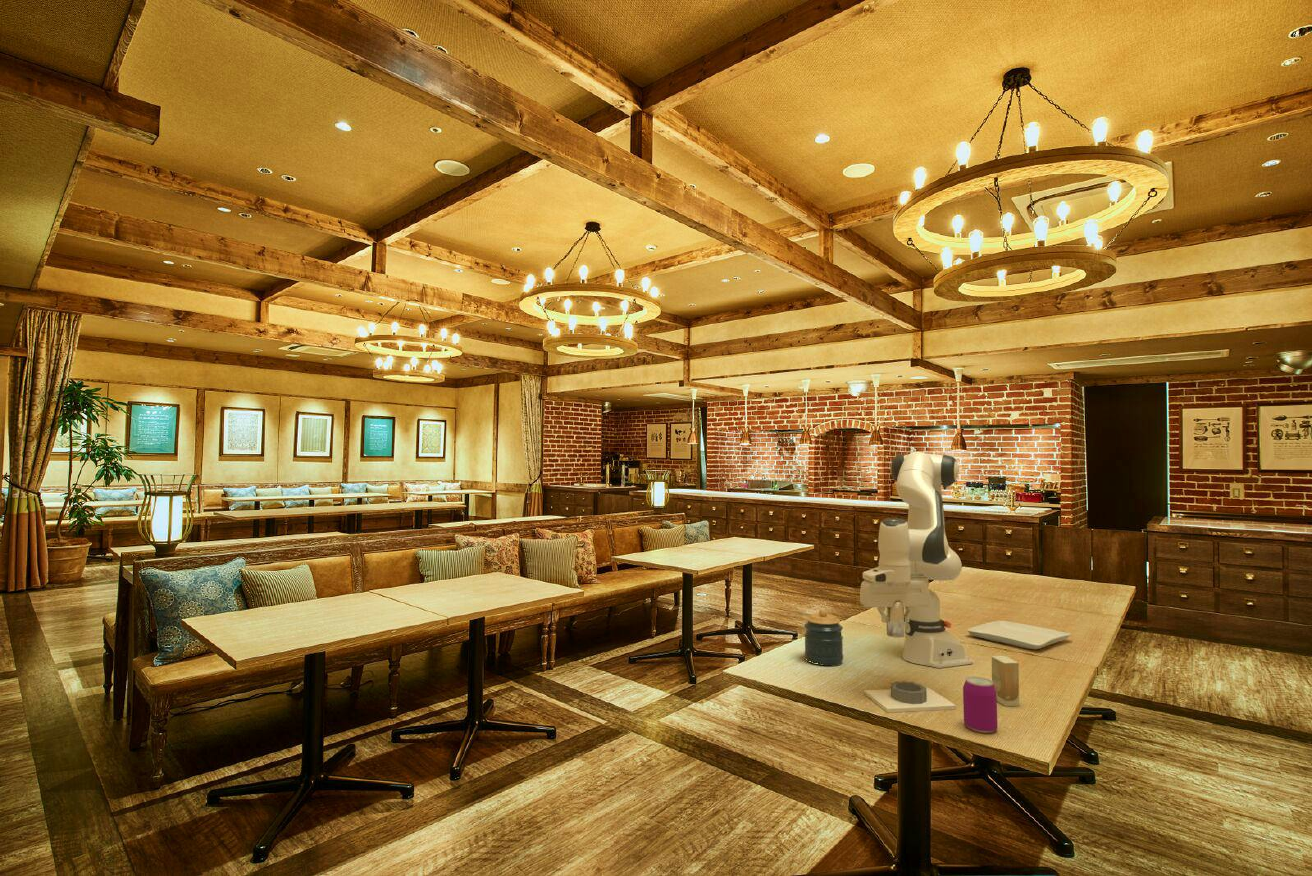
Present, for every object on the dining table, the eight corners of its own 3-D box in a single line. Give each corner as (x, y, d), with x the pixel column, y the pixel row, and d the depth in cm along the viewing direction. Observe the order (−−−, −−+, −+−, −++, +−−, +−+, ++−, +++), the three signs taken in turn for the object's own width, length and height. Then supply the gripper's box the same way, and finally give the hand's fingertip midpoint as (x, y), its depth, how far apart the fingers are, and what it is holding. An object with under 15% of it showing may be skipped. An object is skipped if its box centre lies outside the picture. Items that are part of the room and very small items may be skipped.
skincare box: (991, 698, 176) (990, 655, 177) (1005, 697, 177) (1004, 655, 177) (1005, 707, 170) (1004, 662, 170) (1020, 706, 170) (1019, 662, 171)
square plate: (1072, 642, 233) (1072, 632, 233) (1039, 655, 217) (1039, 644, 218) (1000, 627, 255) (999, 618, 255) (964, 638, 240) (964, 628, 240)
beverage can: (993, 737, 151) (992, 688, 151) (960, 728, 156) (958, 681, 157) (1001, 727, 157) (999, 680, 157) (968, 719, 162) (967, 673, 162)
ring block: (927, 690, 182) (927, 677, 182) (956, 709, 168) (955, 694, 169) (864, 693, 180) (864, 680, 180) (887, 712, 166) (887, 697, 166)
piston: (899, 633, 181) (898, 597, 181) (907, 637, 176) (906, 600, 177) (883, 633, 180) (883, 597, 181) (891, 637, 175) (891, 600, 176)
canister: (800, 663, 208) (799, 611, 209) (809, 653, 219) (808, 603, 220) (839, 669, 202) (838, 615, 203) (846, 658, 213) (845, 607, 214)
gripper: (922, 572, 183) (923, 618, 182) (857, 572, 181) (857, 620, 180) (934, 575, 177) (934, 624, 176) (866, 576, 175) (867, 625, 174)
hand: (895, 622), depth 178 cm, fingers closed on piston, 5 cm apart
